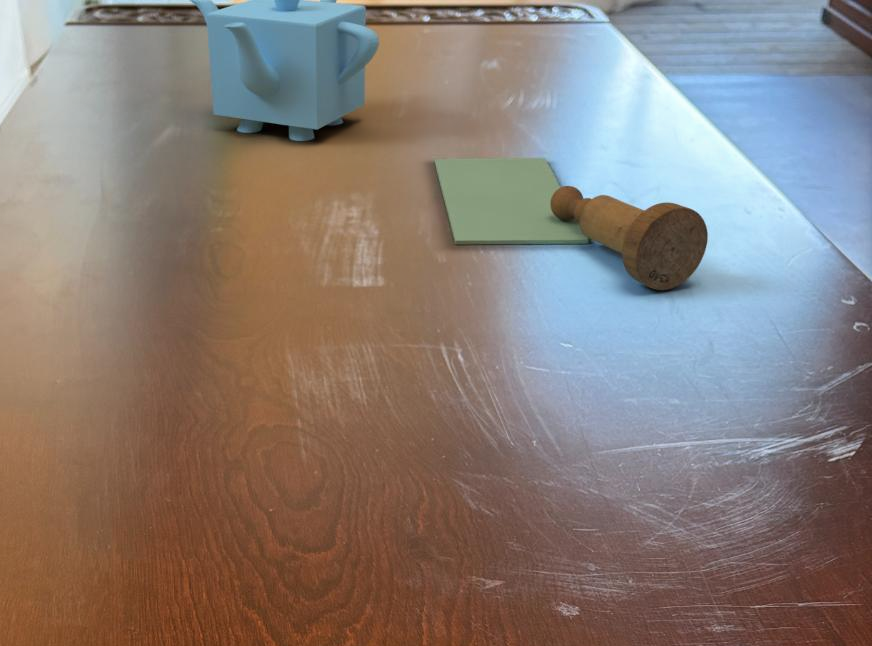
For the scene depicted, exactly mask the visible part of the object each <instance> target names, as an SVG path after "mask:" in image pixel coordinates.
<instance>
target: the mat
mask: <svg viewBox="0 0 872 646" xmlns="http://www.w3.org/2000/svg"><path fill="white" fill-rule="evenodd" d="M433 163H434V167H435V171H436V175H437V178H438V183H439V187H440V190H441V194H442V198H443V202H444V206H445V210H446V213H447V216H448V221H449V225H450V229H451V233H452V236H453V241H454V244H455V245H456V246H457V245H458V246H459V245H575V244H576V245H587V244H589V241H590V238H588V237H586V236H585V235H584V234H583V233H582V231H581V228H580V223H578V222H577V221H576V219H575V218H573V219H571V220H561V219H559V218H557V217H556V216H555V215H554V214H553V212H552V210H551V206H550V201H551V198H552V195H553V194H554V192H555V191H556V190H558V189H559V188H561V187H562V186H560V183H559V182H558V180H557V177H556V176H555V174H554V172H553V170H552V169H551V167H550V165H549V162H548V161H547V159H546V157H492V158H491V157H487V158H484V157H483V158H481V157H479V158H474V157H473V158H471V157H470V158H468V157H467V158H465V157H463V158H434V160H433Z"/></svg>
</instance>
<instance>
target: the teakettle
mask: <svg viewBox="0 0 872 646" xmlns="http://www.w3.org/2000/svg"><path fill="white" fill-rule="evenodd" d="M189 1H190V2H191V3H192V4H193V5H195V6H196V7H197V9H199V11H200V13H201V14H202V16H203V18H204V21H205V24H206V28H207V40H208V41H207V43H208V57H209V71H210V84H211V86H210V87H211V97H212V111H213V112H212V113H213V115H216V116H222V117H228V118H234V119H241V121H240V122H239V125H238V127H237V128H236V132H239V133H245V134H252V133H258V132H261V131H262V128H263V126H264V123H270V124H277V125H281V126H288V138H289V139H290V140H291V141H295V142H306V141H311V140H314V139H315V134H314V130H319V129H321V128H323V127H325V126H338V125H339V126H340V125H341V124H343V123H344V121H343V119H342V117H344V116H346V115H348V114H349V113H351V112H354V111H355V110H357V109H359V108H361V107H364V106H365V103H366V101H365V100H366V66H367V65H368V64H369V63H370V62H371V61H372V60H373V58H374V56H375V55H376V53H377V52H378V48H379V45H380V38H379V35H378V34H377V33H376V32H375V31H374V30H372V29H371V28H369V27H366V26H367V25H366V21H367V8H366V6H365V5H361V4H360V5H359V4H349V3H340V2H339V3H338V2H337V0H319V1H318V0H317V1H316V0H246V1H242V2H239V3H236V4H233V5H230V6H226V7H224V8H220V9H219V8H218V7H217V5H216V4H215V2H214V1H212V0H189Z"/></svg>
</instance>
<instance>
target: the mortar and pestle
mask: <svg viewBox="0 0 872 646" xmlns="http://www.w3.org/2000/svg"><path fill="white" fill-rule="evenodd" d="M560 187H561V188H559V189H558V190H556V191H555V192H554V194H553V195H552V198H551V201H550V206H551V210H552V212H553V214H554V215H555V216H556V217H557V218H559V219H561V220H571V219H573V218H575V219H576V221H577V222H578V223H580V228H581V231H582V233H583V234H584V235H585V236H586V237H588V239H589V240H592V241H594V242H596V243H598V244H601V245H602V246H605V247H607V248H609V249H611V250H613V251H615V252H617V253H619V254H621V256H622V257H621V258H622V263H623V266H624V268H625V271H626V272H627V274H628V275H629V276H630V277H631V278H632V279H633V280H635V281H636V282H638V283H640V284H642V285H644V286H646V287H648V288H649V289H652V290H656V291H666V290H670V289H673V288H677V287H678V286H680V285H682V284H683V283H684V282H686V281H687V280H688V279H689V278H690V277H691V276H692V275H693V274H694V273H695V271H696V270H697V269H698V267H699V266H700V264H701V263H702V260H703V258H704V255H705V253H706V249H707V245H708V238H709V237H708V236H709V234H708V233H709V232H708V227H707V224H706V222H705V220H704V218H703V217H702V215H701V214H700V213H698V212H697V211H696V210H694V209H692V208H690V207H687V206H684V205H681V204H678V203H675V202H667V201H665V202H660V203H656V204H654V205H651V206H649V207H648V208H646V209H642V208H639V207H637V206H634V205H632V204H629V203H627V202H624V201H623V200H620V199H618V198H615V197H613V196H610V195H607V194H599V195H597V196H595V197H592V198H590V197H585V198H584V196H583V193H582V192H581V191H580V190H579V188H577V187H576V186H572V185H563V186H560Z"/></svg>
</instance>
